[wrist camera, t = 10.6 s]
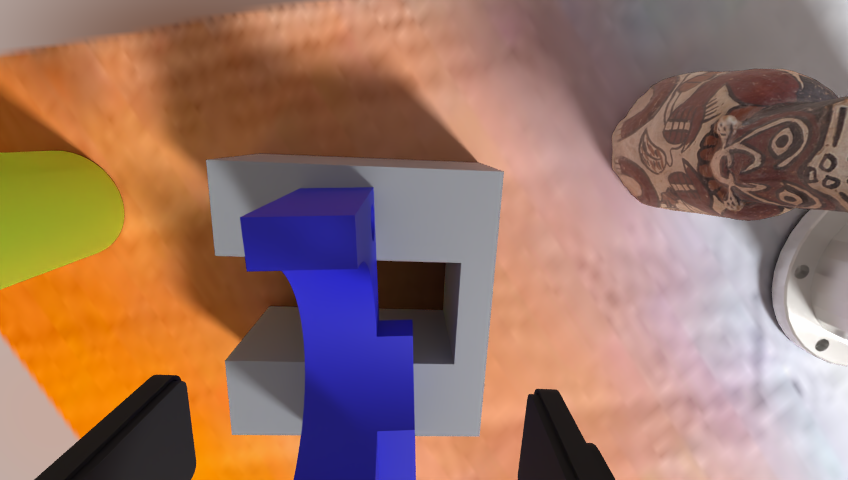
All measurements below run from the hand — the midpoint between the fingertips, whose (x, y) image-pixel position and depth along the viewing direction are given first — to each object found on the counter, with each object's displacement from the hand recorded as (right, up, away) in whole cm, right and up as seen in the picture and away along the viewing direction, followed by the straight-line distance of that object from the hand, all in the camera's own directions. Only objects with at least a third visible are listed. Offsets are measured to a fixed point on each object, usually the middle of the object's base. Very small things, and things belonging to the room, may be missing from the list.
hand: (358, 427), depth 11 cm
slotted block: (-1, +3, +13) cm, 13 cm away
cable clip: (-1, +1, +7) cm, 7 cm away
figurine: (+16, +11, +12) cm, 22 cm away
